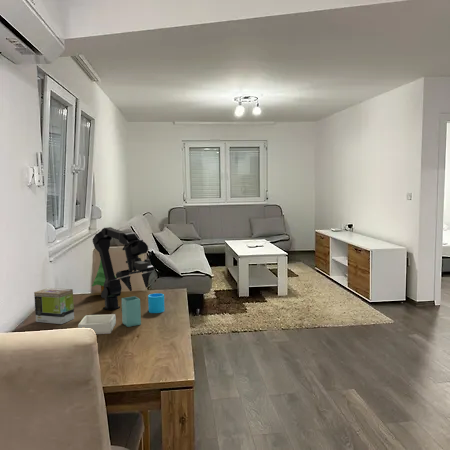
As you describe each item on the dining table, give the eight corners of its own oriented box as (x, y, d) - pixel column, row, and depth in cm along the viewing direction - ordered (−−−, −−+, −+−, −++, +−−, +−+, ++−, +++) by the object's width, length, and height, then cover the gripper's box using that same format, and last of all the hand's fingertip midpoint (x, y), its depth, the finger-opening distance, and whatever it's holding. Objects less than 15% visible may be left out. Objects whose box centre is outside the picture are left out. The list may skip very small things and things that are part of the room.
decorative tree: (87, 297, 252) (85, 245, 249) (103, 290, 266) (101, 242, 264) (107, 299, 247) (105, 246, 244) (122, 292, 262) (121, 242, 259)
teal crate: (122, 323, 203) (121, 298, 202) (136, 320, 206) (135, 296, 205) (127, 327, 197) (126, 301, 196) (141, 324, 201) (140, 299, 200)
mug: (166, 312, 220) (165, 296, 219) (149, 314, 217) (149, 297, 217) (161, 306, 231) (161, 290, 231) (146, 307, 229) (145, 292, 228)
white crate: (86, 324, 202) (85, 315, 201) (115, 323, 203) (115, 314, 202) (78, 334, 188) (78, 324, 188) (110, 333, 189) (110, 323, 189)
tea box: (75, 318, 212) (73, 288, 210) (61, 325, 202) (59, 293, 201) (49, 316, 216) (48, 286, 215) (35, 322, 207) (33, 291, 206)
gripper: (125, 256, 199) (131, 290, 197) (157, 251, 212) (164, 283, 211) (112, 261, 207) (119, 293, 205) (144, 256, 220) (151, 286, 218)
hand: (139, 289), depth 210 cm, fingers open, 9 cm apart
